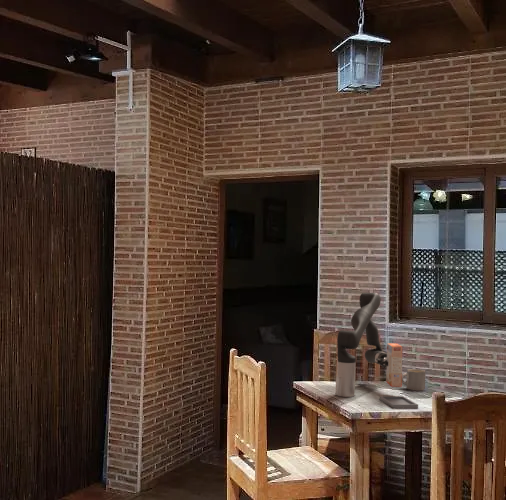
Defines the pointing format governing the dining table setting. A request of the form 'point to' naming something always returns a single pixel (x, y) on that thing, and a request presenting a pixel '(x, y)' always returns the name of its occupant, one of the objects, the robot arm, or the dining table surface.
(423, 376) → the coffee mug
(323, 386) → the dining table surface
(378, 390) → the dining table surface
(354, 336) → the robot arm
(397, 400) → the tray
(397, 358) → the cracker box
